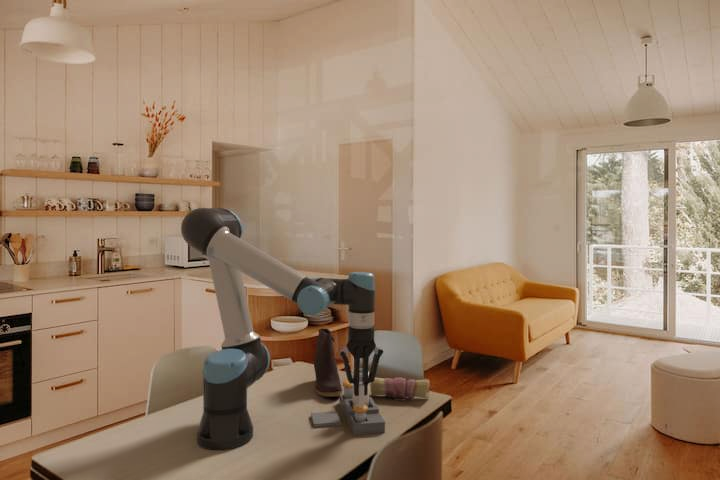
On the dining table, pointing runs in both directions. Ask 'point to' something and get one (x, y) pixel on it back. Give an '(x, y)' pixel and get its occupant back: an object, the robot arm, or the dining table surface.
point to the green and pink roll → (400, 388)
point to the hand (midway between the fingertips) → (360, 406)
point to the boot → (326, 366)
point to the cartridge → (366, 397)
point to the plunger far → (348, 390)
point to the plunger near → (360, 413)
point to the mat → (325, 419)
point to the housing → (373, 417)
